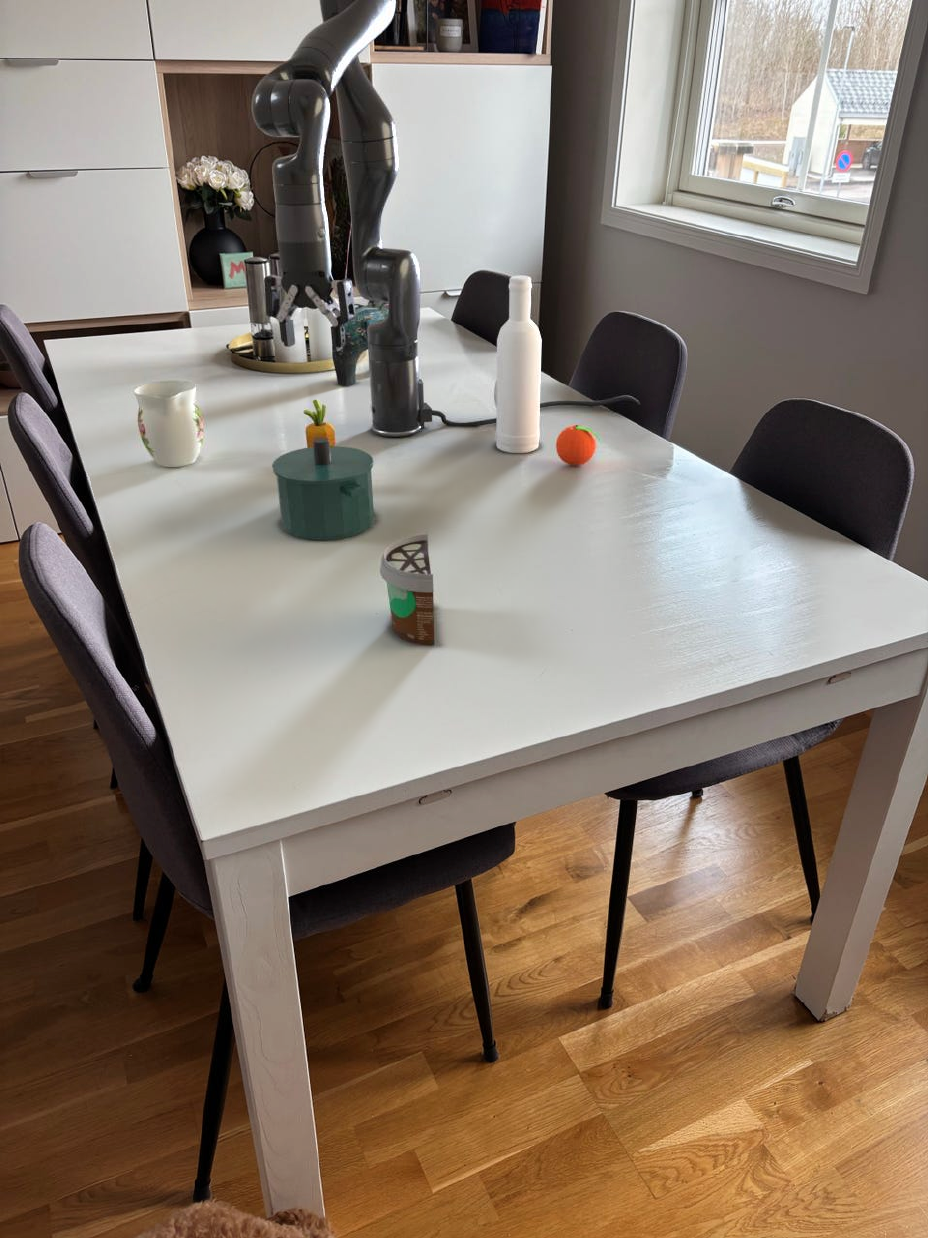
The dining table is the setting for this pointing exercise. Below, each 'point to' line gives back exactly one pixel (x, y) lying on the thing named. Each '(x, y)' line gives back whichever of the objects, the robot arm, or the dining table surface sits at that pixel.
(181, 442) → the pitcher
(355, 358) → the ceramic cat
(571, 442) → the clementine
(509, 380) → the bottle
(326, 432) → the carrot
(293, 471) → the pot lid
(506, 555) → the dining table surface
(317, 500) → the pot
